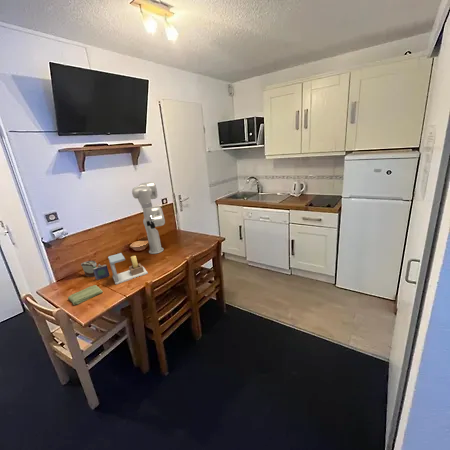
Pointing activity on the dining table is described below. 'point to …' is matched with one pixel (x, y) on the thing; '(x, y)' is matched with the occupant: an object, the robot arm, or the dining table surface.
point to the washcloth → (84, 294)
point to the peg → (134, 262)
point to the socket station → (127, 274)
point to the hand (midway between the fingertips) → (151, 227)
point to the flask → (101, 272)
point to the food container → (89, 267)
